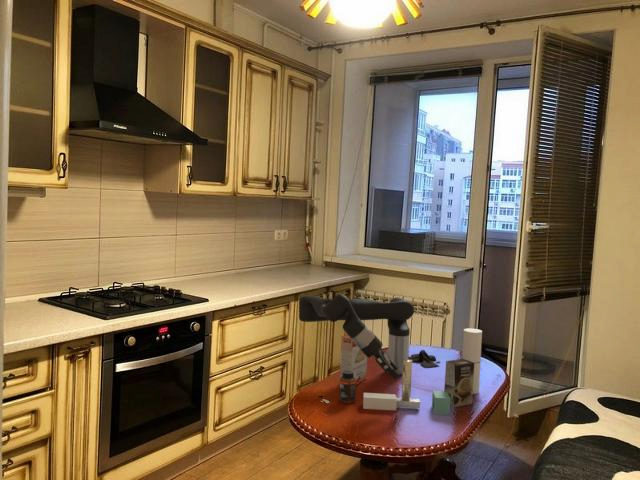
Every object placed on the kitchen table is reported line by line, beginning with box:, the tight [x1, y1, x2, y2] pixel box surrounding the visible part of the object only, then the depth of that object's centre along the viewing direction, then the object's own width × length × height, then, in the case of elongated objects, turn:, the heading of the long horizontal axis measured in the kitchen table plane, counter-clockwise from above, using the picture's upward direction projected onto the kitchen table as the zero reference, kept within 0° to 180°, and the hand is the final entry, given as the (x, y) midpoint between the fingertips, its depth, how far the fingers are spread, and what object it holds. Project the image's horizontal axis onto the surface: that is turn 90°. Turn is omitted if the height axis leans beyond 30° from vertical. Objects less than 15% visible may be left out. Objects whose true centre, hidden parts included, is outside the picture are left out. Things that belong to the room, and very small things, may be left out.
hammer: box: [396, 359, 421, 409], centre depth 190 cm, size 20×3×17 cm, turn 86°
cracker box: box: [338, 333, 368, 386], centre depth 215 cm, size 14×6×21 cm, turn 148°
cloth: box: [408, 349, 441, 369], centre depth 250 cm, size 22×19×6 cm
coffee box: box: [443, 358, 474, 408], centre depth 197 cm, size 9×6×16 cm
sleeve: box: [362, 392, 398, 411], centre depth 191 cm, size 12×5×4 cm, turn 86°
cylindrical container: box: [461, 327, 483, 395], centre depth 210 cm, size 7×7×25 cm
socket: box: [431, 390, 451, 416], centre depth 189 cm, size 5×7×6 cm
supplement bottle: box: [339, 370, 357, 404], centre depth 195 cm, size 6×6×11 cm
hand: (396, 374), depth 189 cm, fingers open, 8 cm apart
